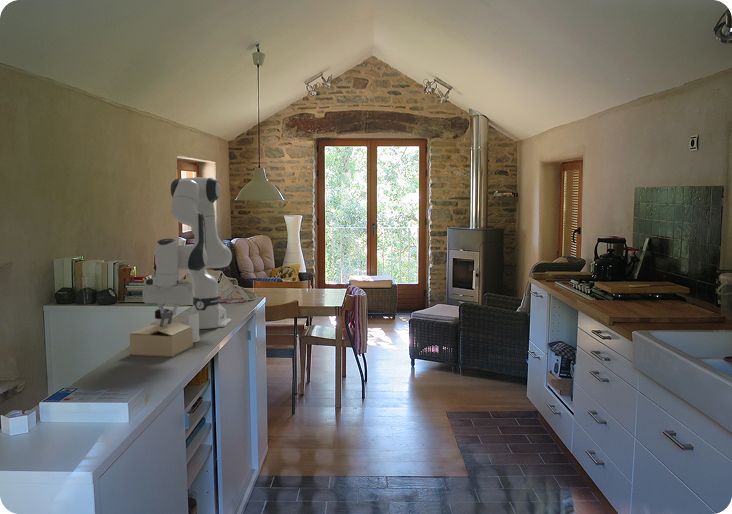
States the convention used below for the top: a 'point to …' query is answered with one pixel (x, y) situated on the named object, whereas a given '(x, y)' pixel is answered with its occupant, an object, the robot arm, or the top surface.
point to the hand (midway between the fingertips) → (168, 314)
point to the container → (159, 317)
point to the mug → (191, 322)
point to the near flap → (170, 325)
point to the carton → (159, 342)
